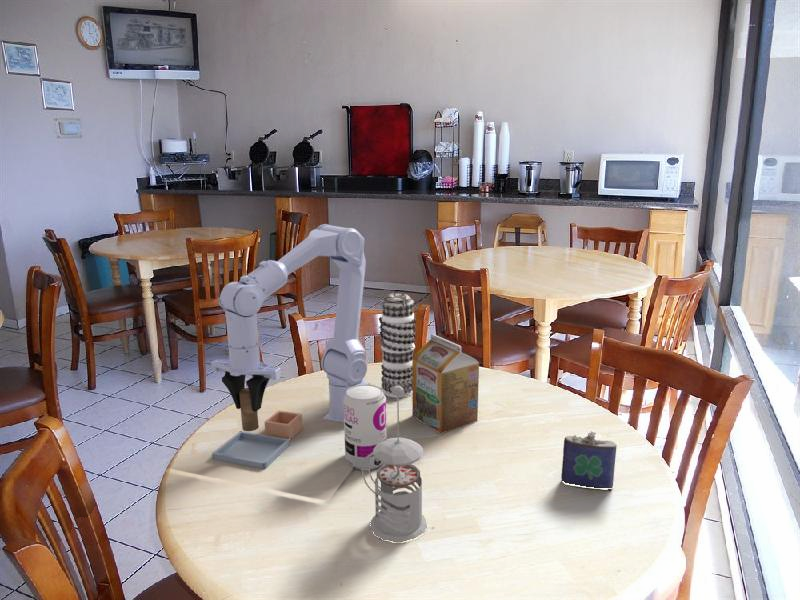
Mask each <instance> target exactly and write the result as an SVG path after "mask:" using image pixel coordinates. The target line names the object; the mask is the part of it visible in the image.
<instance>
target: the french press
mask: <svg viewBox="0 0 800 600" xmlns="http://www.w3.org/2000/svg"><path fill="white" fill-rule="evenodd" d="M403 393H404V391H403V388H402V387H401V386H394V387H393V388H392V394H393V395H397V398H396V400H397V401H396V402H397V404H396V405H397V407H396V408H397V409H396V410H397V412H396V413H397V414H396V415H397V418H396V419H397V421H396V423H397V437H390V438H387V440H385V441H383V442H381V443H379V444H377V445H376V447H375V448H374V451H373V452H372V453H371V454H370V455H368V456H367V457H365V459H364V461H363V463H362V470H361V474H362V477H363V481H364V484H365V485H366V486H367V488H368V489H369V491H371V492H372V493H373V494H374V498H375V499H374V500H375V502H374V503H375V507H374V508H375V514H374V515H375V516H374V515H373V516H372V517H371V520H370V521H371V522H370V521H369V530H370V529H371V530H372V531H373V532H374V534H375V535H376V536H378V537H380V538H382V539H383V540H389V541H393V542H403V541H407V540H410V539H414V538H416V537H418V536H419V535H421V534H422V533H424V532H425V529H426V528H427V523H428V522H427V523H426V519H427V518H426V517H425V516H424V514H423V483H422V482H423V480H422V477H421V471H420V469H419V468H418V467H417V466H416V465H414V463H416V462H417V461H420V459H421V458H422V456H423V454H424V448H423V447H422V445H420V444H419V443H418V442H416V441H414V440H412V439H410V438H409V439H408V438H405V437H400V421H399V419H400V409H399V401H400V398H399V395H402V394H403ZM372 455H374V456H375V460H376V461H381V462H383V464H384V465H383V464H382V465H381V466H379V467H378V468H377V471H376V477H375V480H374V479H373V476H372V473H371V471H370V469H369V460H370V457H371V456H372ZM368 457H369V458H368ZM367 458H368V470H367V472H368V474H369V477H370V480H371V481H372V483H373V484H374V490H373V489H372V488H371V486H370V485H369V484H368V483H367V481H366V479H365V478H366V477H365V474H364V471H365V470H363V465H364V462H365V460H366V459H367ZM377 459H378V460H377ZM379 482H380V485H379ZM415 483H416V484H417V485H416V484H415ZM411 485H412V486H411ZM413 487H414V488H415V489H414V488H413ZM400 489H406V490H401V491H397V492H394V491H396V490H400ZM407 490H409V491H411V492H409V491H407ZM379 497H380V498H379ZM379 504H380V505H379ZM379 510H380V511H379ZM422 514H423V515H422ZM425 518H426V519H425ZM370 523H371V524H370ZM370 525H371V526H370ZM427 529H428V528H427ZM371 530H370V531H371ZM372 531H371V532H372ZM425 533H426V532H425ZM374 534H373V535H374ZM376 536H375V537H376Z"/></svg>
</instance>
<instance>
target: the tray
mask: <svg viewBox="0 0 800 600" xmlns="http://www.w3.org/2000/svg"><path fill="white" fill-rule="evenodd" d="M290 446H291V440H290V439H284V438H278V437H273V436H267V435H265V434H260V433H254V432H250V431H244V430H239V431H238V432H237V433H235V435H233V436H232V437H230V438H229V440H227V441H226V442H225V443H223V444H222V445H221V446H220V447H219V448H217V449H216V450H214V451H213V452H212V453H211V456H212V460H214V461H215V460H216V461H221V462H225V463H231V464H236V465H241V466H244V467H245V466H246V467H250V468H251V467H252V468H257V469H261V470H266V469H267V468H268V467H269V466H270V465H271V464H273V462H275V460H277V459H278V458H279V457H280V456H281V455H282V454H283V453H284V452H285V451H286V450H287V449H288V448H289V447H290Z"/></svg>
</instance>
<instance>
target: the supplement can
mask: <svg viewBox="0 0 800 600" xmlns="http://www.w3.org/2000/svg"><path fill="white" fill-rule="evenodd" d="M382 389H383V388H382V387H380V386H379V385H375V384H371V385H369V384H362V385H356V386H353V387H350V388H349V389H348V390H347V392H346V395H345V397H344V399H343V404H344V422H343V426H344V429H343V430H344V453H345V454H344V456H345V462H346V463H347V464H348V465H349V466H350V467H353V469H357V470H360V471H362V463H363V461H364V459H365V457H367V456H368V455H370V454H371V453H372V452H373V451H374V448H375V447H376V445H377V444H379V443H381V442H383V441H385V440H387V439H388V438H387V437H388V436H387V396H386V395H384V394H383V390H382ZM368 458H369V457H368ZM368 458H367V459H366V460H365V462H364V465H363V470H364V471H368ZM377 460H378V459H377ZM383 464H384V463H383V462H381V461H376V460H375V456H374V455H372V456H371V457H370V460H369V469H370V470H375V469H378V468H380V467H382V466H383Z"/></svg>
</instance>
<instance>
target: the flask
mask: <svg viewBox="0 0 800 600" xmlns="http://www.w3.org/2000/svg"><path fill="white" fill-rule="evenodd" d="M596 434H597V433H596V432H595V431H594V432H593V431H590V432H587V436H584V437H581V436H577V435H576V434H574V435H568V436H565V437H564V439H563V450H562V451H563V452H562V453H563V454H562V462H561V463H562V465H561V475H560V476H561V482H562V481H564V482H565V483H569V484H575V485H580V486H586V487H594V488H612V489H613V487H614V481H615V480H614V479H615V478H614V477H615V475H614V474H615V468H616V467H615V466H616V458H617V456H616V455H617V444H616V442H614V441H612V440H601V439H600V440H598V439H595V438H596Z"/></svg>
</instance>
